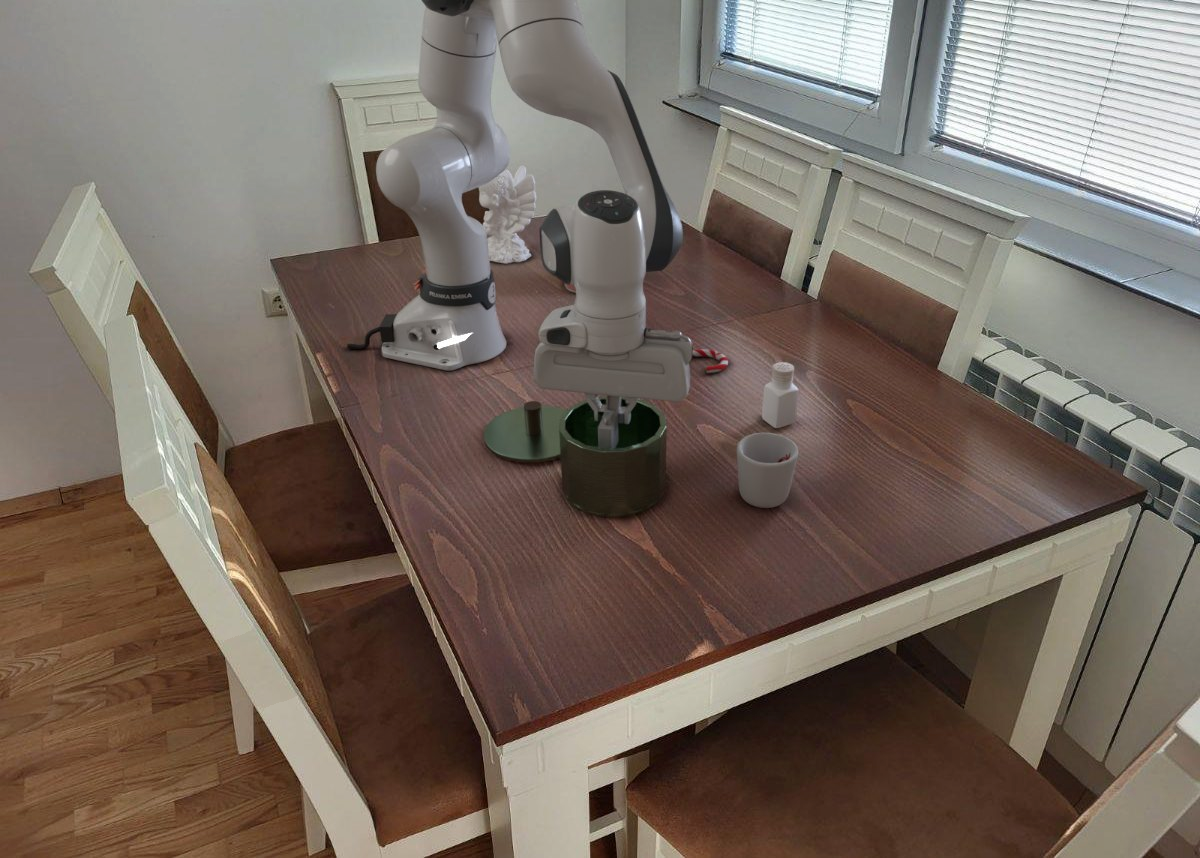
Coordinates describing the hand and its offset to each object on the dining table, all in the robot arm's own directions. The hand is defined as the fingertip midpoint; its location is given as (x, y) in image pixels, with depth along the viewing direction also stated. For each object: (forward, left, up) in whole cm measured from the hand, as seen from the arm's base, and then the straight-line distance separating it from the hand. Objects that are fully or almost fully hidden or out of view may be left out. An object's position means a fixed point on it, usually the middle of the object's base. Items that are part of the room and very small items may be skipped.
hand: (612, 420), depth 118 cm
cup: (+20, +3, -11) cm, 23 cm away
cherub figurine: (-44, +84, -11) cm, 95 cm away
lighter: (0, -1, -3) cm, 3 cm away
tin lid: (-15, +10, -10) cm, 20 cm away
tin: (0, 0, -11) cm, 11 cm away
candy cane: (+4, +37, -11) cm, 39 cm away
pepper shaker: (+21, +22, -11) cm, 32 cm away
